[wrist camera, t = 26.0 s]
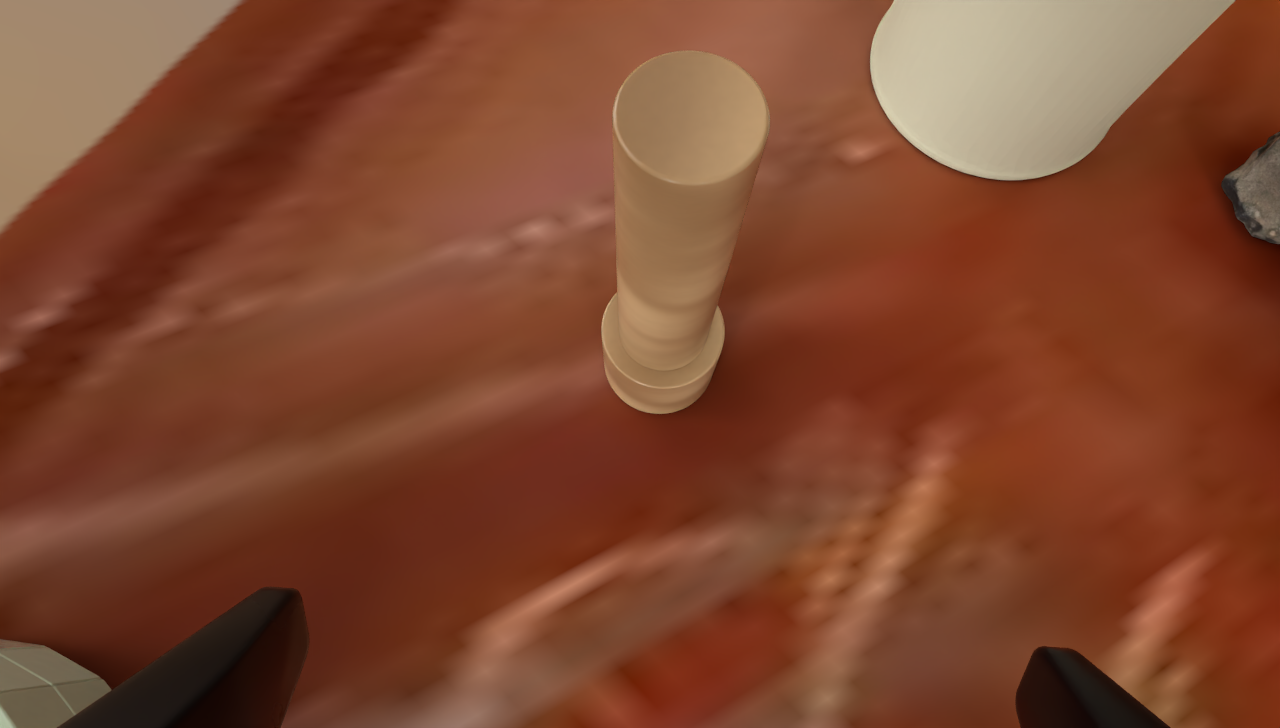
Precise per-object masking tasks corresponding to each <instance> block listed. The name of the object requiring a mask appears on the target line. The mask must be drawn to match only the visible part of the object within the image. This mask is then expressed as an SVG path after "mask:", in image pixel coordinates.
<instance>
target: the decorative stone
mask: <svg viewBox="0 0 1280 728" xmlns="http://www.w3.org/2000/svg"><path fill="white" fill-rule="evenodd" d="M1221 186H1222V188H1223V190H1224V193H1225V194H1226V196H1227V197H1228V198H1229V199H1230V200H1231V201H1232V203H1233V207H1234V211H1235V215H1236V217H1237V219H1238V220H1240V221H1241V222H1243V223H1244V225H1245V227H1246V229H1247V230H1248V232H1249V233H1250V234H1251V236H1253V237H1256V238H1259V239H1262V240H1266V241H1268V242H1270V243H1273V244H1280V131H1279V132H1278V133H1276V134H1274V135H1273V136H1271V137H1269V138H1268V140H1267V143H1266V145H1264V146H1262V147H1260V148H1258V149H1257V150H1255V151H1253V153H1252V155H1251V156H1250V158H1249V159H1248V160H1247V161H1246V162H1245V163H1244V164H1243V165H1241V166H1240V167H1239V168H1237V169H1236V170H1235V171H1233V172H1231V173H1229V174H1227V175H1226V176H1225V177H1224V179H1223V181H1222V184H1221Z"/></svg>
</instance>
